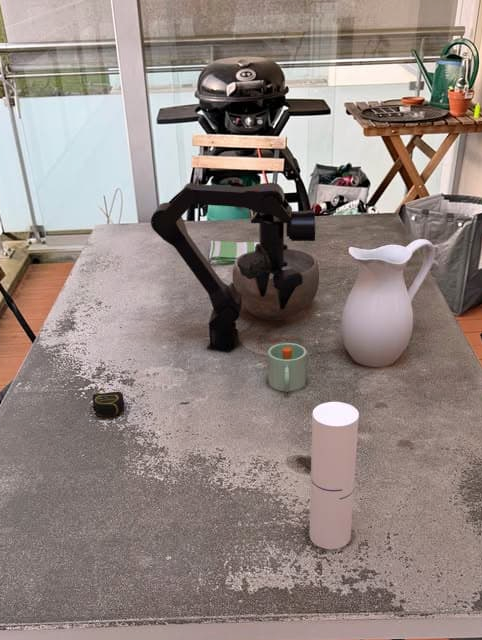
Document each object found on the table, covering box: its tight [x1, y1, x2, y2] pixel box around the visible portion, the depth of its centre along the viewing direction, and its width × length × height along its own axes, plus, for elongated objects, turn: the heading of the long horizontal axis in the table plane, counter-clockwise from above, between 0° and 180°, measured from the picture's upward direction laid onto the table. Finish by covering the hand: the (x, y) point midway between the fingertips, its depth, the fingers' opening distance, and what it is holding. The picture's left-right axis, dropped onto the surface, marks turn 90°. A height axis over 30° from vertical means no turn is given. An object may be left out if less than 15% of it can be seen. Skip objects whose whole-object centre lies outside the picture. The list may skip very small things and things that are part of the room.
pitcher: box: [341, 238, 436, 368], centre depth 175 cm, size 24×17×28 cm
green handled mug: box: [267, 342, 307, 393], centre depth 169 cm, size 12×9×8 cm
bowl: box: [232, 247, 320, 321], centre depth 201 cm, size 24×24×15 cm
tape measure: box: [92, 391, 125, 417], centre depth 163 cm, size 7×7×4 cm
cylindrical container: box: [308, 401, 360, 550], centre depth 121 cm, size 7×7×25 cm
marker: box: [282, 347, 292, 360], centre depth 170 cm, size 2×2×8 cm
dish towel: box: [208, 240, 260, 266], centre depth 243 cm, size 18×23×3 cm
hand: (272, 302), depth 181 cm, fingers open, 9 cm apart
